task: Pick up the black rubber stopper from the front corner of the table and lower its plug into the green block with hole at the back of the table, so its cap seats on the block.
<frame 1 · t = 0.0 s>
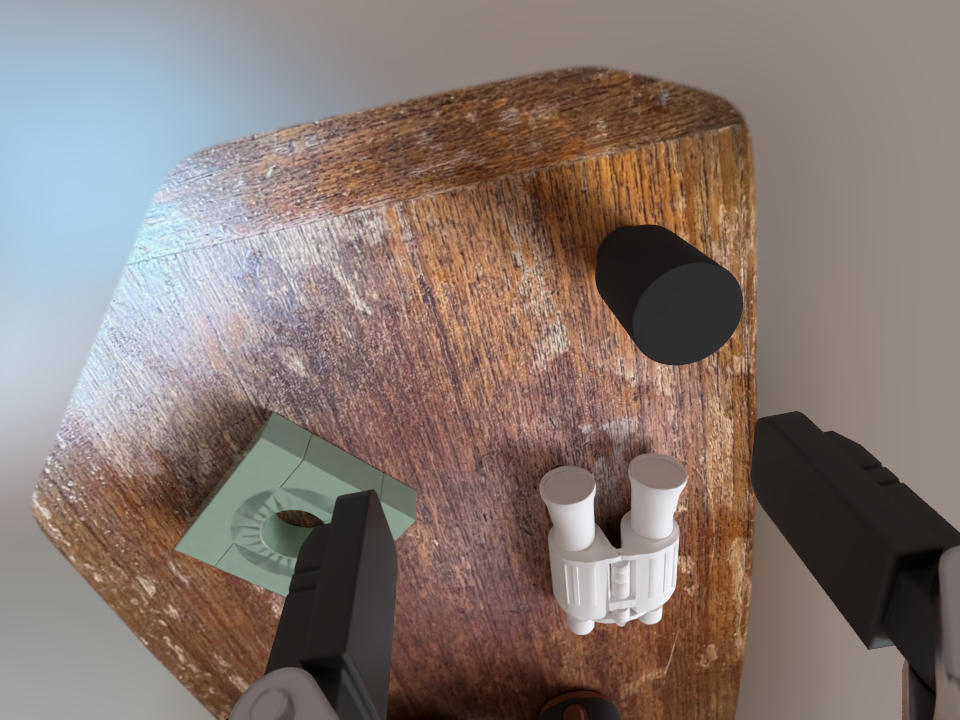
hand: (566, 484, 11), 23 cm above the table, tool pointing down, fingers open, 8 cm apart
mug: (572, 700, 56), on the table
binoculars: (604, 530, 44), on the table
stopper: (625, 255, 33), on the table
green block with hole: (304, 504, 40), on the table
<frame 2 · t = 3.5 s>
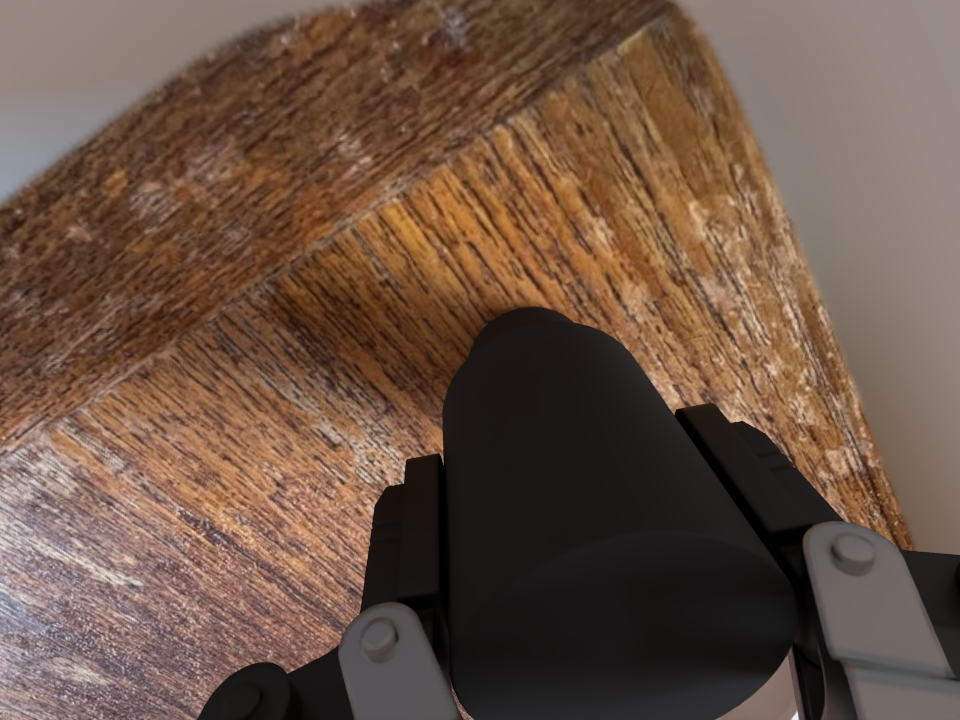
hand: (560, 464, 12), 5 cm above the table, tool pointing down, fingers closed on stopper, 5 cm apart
stopper: (528, 362, 16), on the table, touching gripper
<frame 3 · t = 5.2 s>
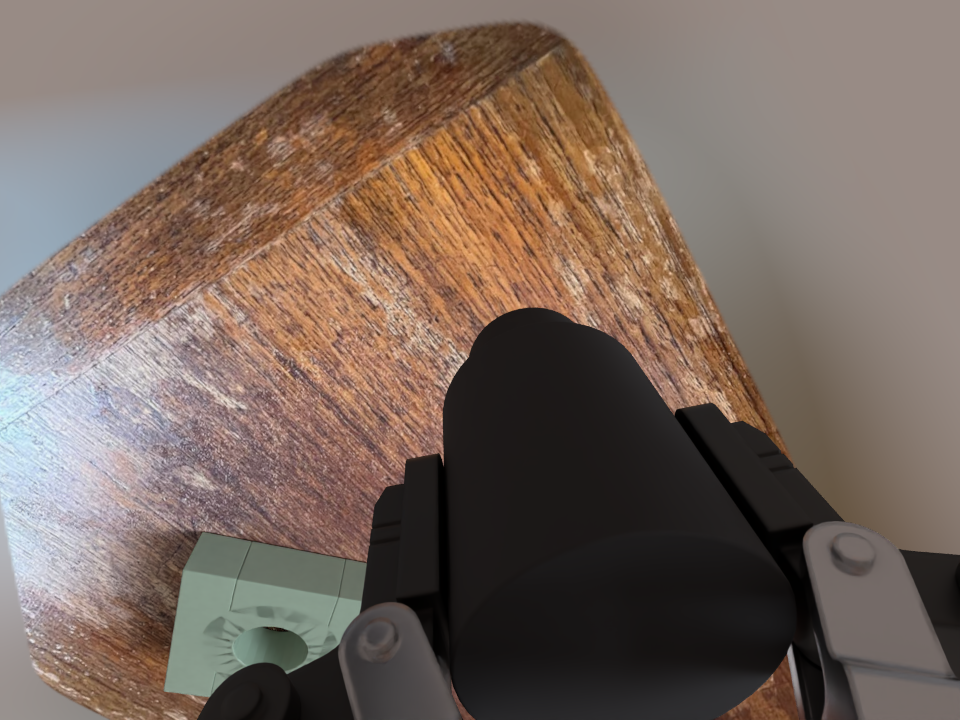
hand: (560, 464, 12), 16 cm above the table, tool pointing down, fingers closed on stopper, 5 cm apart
stopper: (528, 362, 16), point 12 cm above the table, touching gripper
green block with hole: (282, 609, 37), on the table
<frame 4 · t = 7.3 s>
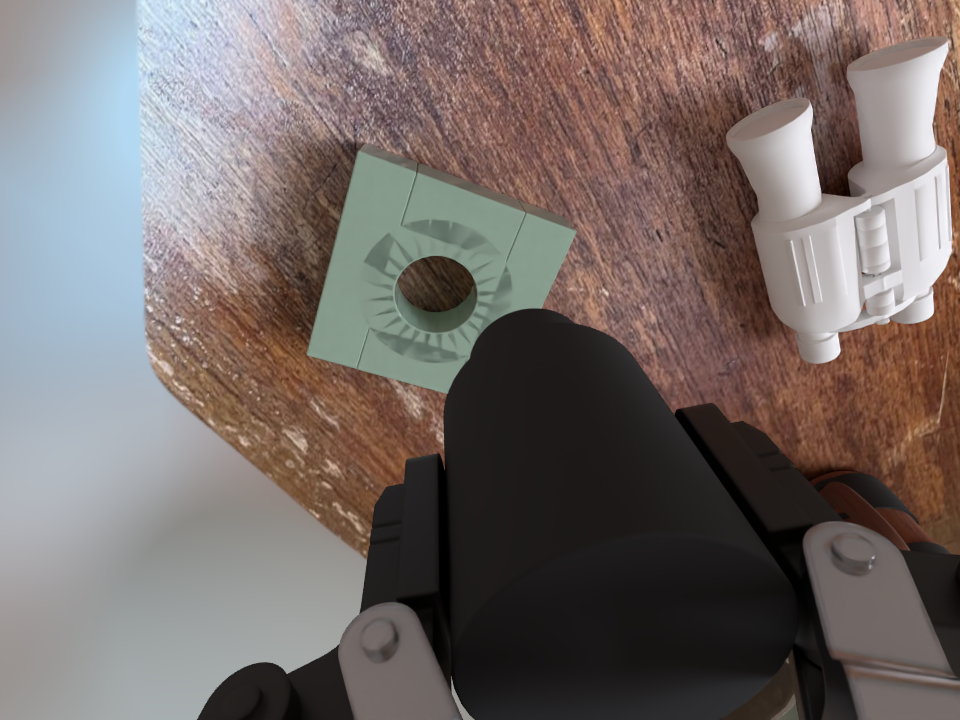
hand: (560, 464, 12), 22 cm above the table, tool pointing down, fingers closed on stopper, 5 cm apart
bowl: (649, 590, 49), on the table
mug: (820, 491, 45), on the table
binoculars: (822, 213, 33), on the table
stopper: (529, 363, 16), point 17 cm above the table, touching gripper
green block with hole: (435, 277, 33), on the table
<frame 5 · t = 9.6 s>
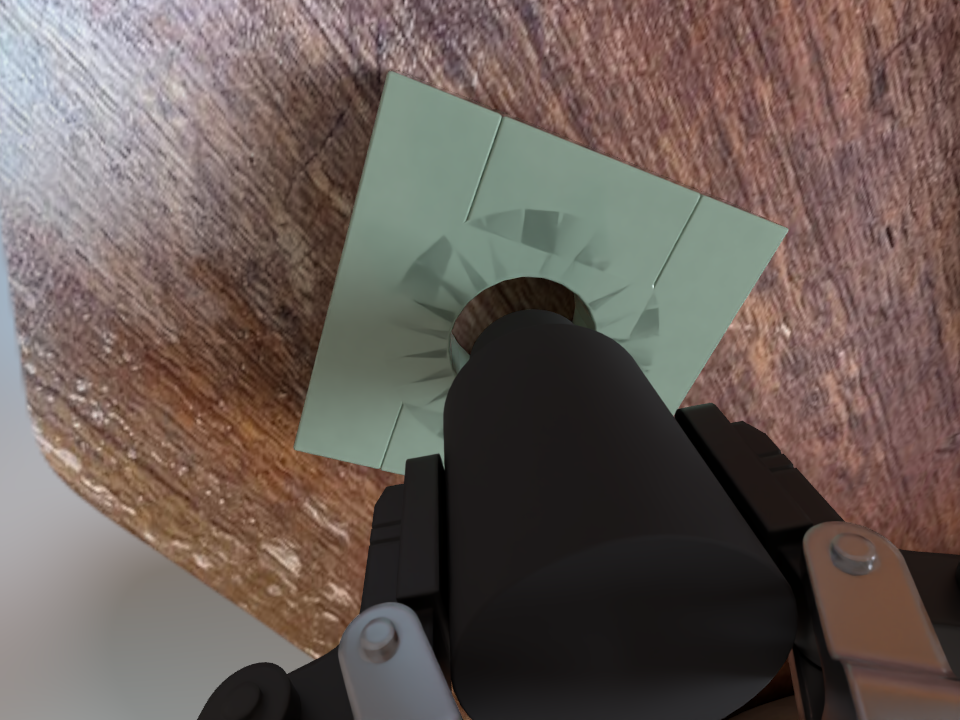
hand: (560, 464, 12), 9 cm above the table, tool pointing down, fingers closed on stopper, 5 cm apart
stopper: (528, 364, 16), point 4 cm above the table, touching gripper
green block with hole: (511, 310, 20), on the table
when the fingers open (5 cm above the table, at t = 11.2 s): stopper stays where it is, resting on green block with hole.
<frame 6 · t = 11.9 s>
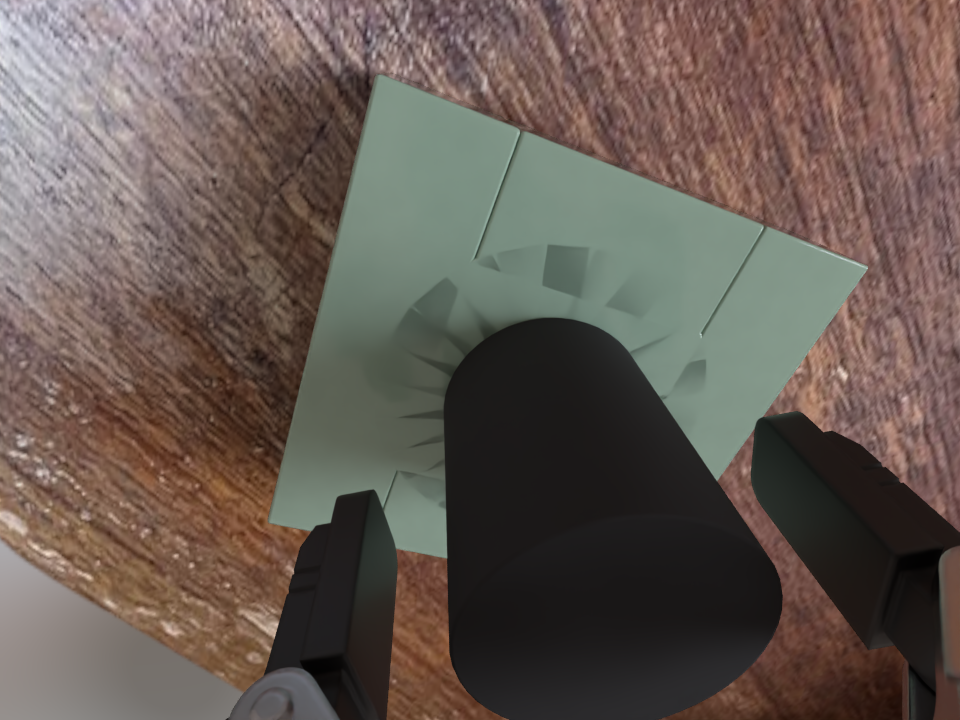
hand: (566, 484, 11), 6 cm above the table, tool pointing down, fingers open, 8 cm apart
stopper: (527, 359, 16), resting on green block with hole
green block with hole: (525, 353, 17), on the table
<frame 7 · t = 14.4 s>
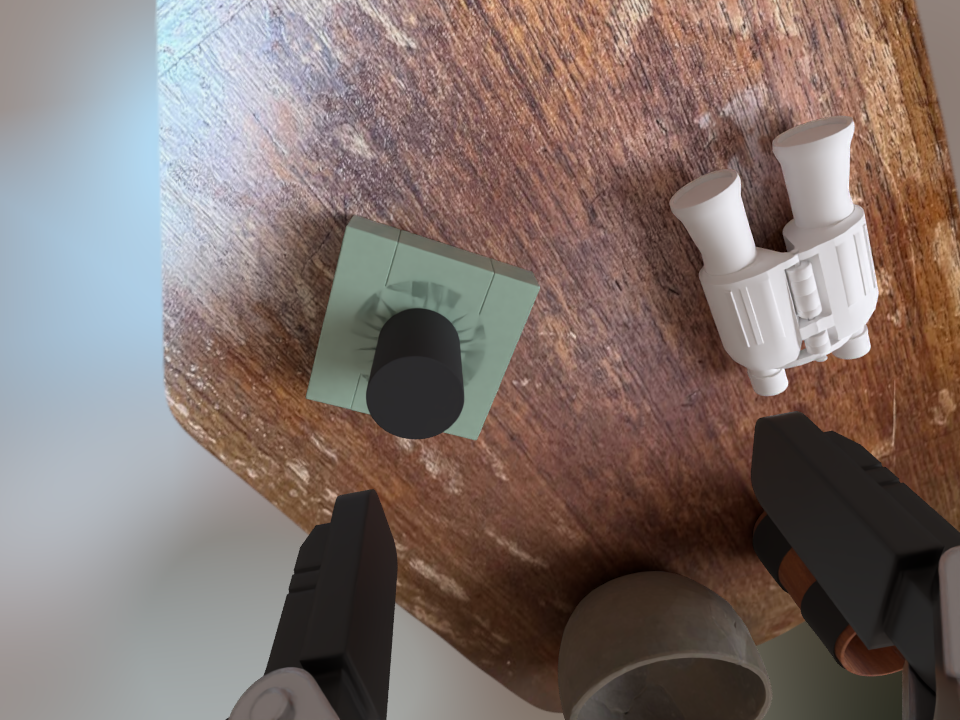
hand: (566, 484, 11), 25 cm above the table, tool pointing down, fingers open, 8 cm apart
bowl: (632, 606, 52), on the table
mug: (787, 510, 48), on the table
binoculars: (765, 262, 37), on the table
stopper: (420, 328, 37), resting on green block with hole
green block with hole: (419, 325, 37), on the table
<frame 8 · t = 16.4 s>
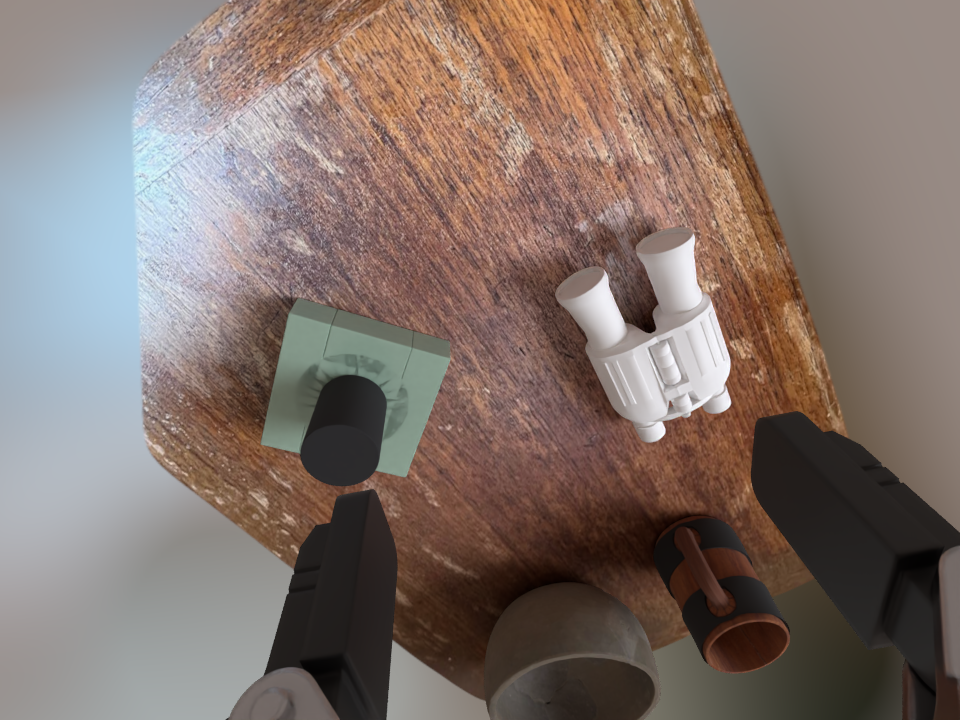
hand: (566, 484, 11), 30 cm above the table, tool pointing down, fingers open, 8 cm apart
bowl: (555, 611, 60), on the table
mug: (684, 531, 56), on the table
binoculars: (644, 333, 44), on the table
stopper: (357, 385, 44), resting on green block with hole
green block with hole: (357, 383, 44), on the table
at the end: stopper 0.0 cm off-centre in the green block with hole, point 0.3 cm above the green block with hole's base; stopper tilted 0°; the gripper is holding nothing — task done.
